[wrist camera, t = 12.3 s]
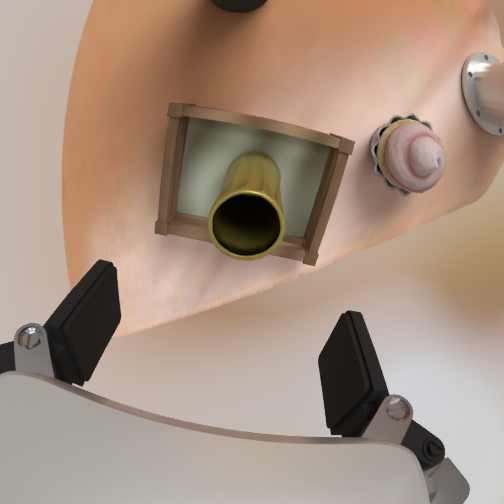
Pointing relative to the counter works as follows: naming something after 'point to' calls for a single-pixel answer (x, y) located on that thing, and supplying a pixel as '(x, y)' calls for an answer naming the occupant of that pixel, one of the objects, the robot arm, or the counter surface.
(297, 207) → the tray
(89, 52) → the counter surface
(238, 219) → the vase
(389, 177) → the cupcake
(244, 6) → the travel mug
